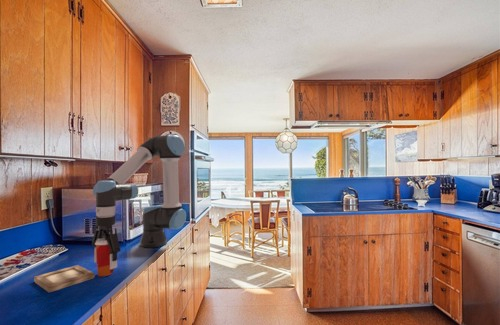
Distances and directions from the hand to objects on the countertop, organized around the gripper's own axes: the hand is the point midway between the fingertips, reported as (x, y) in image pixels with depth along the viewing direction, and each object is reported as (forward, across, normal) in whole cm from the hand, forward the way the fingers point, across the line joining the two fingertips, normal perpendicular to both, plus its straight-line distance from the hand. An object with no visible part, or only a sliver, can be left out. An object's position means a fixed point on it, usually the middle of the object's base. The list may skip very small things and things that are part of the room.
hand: (105, 264), depth 117 cm
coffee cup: (+4, 0, 0) cm, 4 cm away
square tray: (+4, -7, -13) cm, 15 cm away
